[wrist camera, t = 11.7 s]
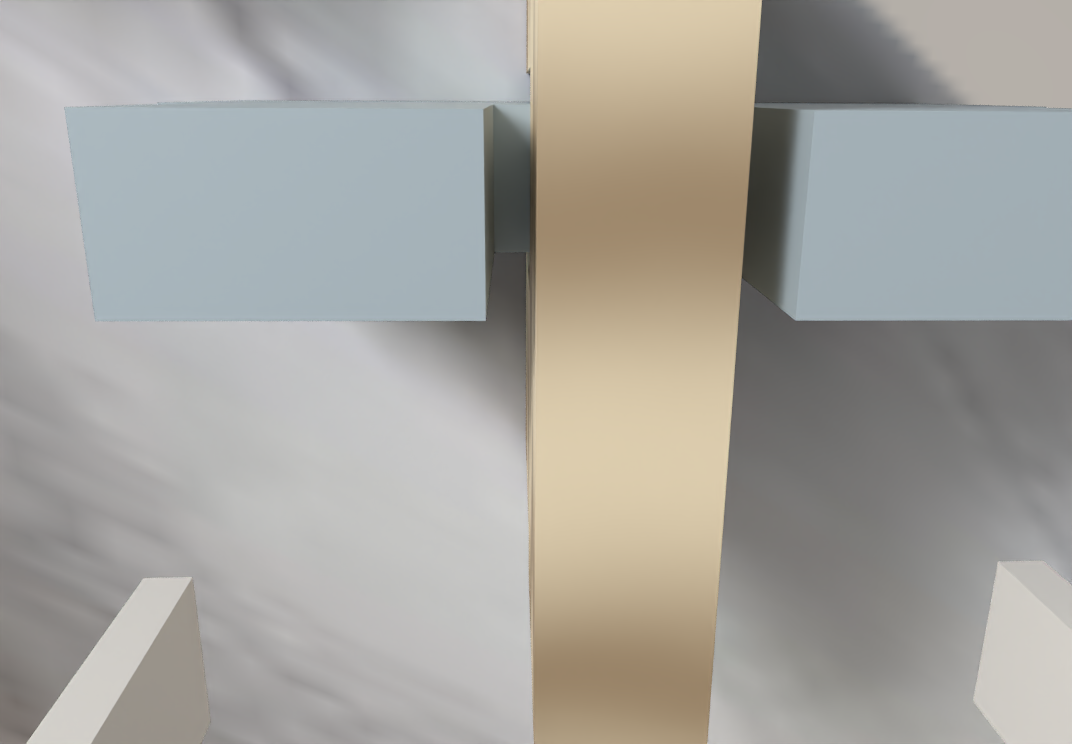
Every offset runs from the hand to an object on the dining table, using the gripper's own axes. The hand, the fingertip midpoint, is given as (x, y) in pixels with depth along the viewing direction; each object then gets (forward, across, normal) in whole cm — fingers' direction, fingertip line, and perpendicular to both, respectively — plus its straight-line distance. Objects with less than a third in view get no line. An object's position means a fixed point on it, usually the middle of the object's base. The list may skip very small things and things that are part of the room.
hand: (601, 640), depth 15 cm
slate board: (+12, +1, +7) cm, 14 cm away
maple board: (+12, +1, +7) cm, 14 cm away
